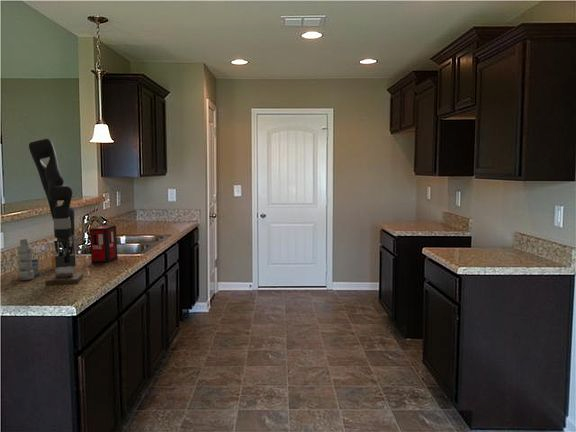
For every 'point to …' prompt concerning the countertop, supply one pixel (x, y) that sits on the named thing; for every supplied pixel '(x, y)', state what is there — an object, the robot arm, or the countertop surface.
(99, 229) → the cleaning product box
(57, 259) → the grey piece
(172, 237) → the countertop surface
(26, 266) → the plastic bottle
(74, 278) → the coupling base
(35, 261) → the medicine box
